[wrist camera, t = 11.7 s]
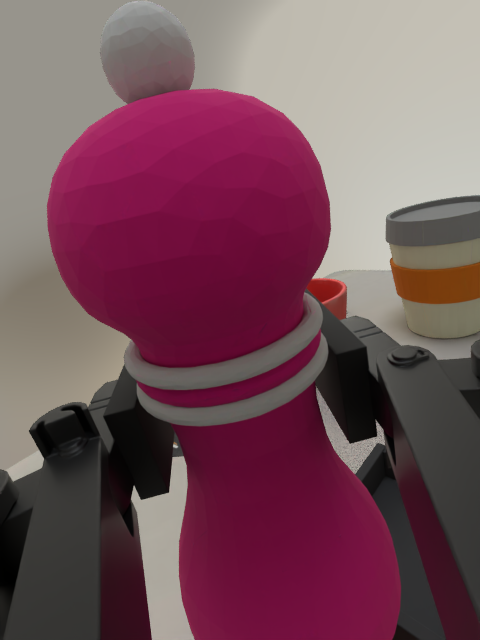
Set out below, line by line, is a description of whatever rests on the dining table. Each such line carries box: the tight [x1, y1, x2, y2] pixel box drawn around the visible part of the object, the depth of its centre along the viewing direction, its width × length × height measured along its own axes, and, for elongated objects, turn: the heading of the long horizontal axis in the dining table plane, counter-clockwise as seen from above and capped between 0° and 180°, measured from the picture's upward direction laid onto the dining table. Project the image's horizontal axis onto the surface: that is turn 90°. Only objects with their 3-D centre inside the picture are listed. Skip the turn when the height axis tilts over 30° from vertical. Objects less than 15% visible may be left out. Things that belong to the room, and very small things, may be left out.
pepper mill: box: [47, 1, 401, 640], centre depth 10 cm, size 7×7×20 cm
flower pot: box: [307, 278, 347, 320], centre depth 45 cm, size 11×11×10 cm
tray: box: [355, 443, 446, 640], centre depth 19 cm, size 11×21×3 cm, turn 136°
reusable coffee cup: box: [386, 195, 480, 338], centre depth 45 cm, size 13×12×15 cm
